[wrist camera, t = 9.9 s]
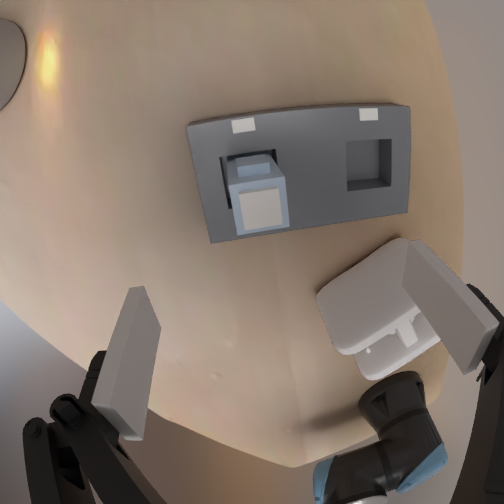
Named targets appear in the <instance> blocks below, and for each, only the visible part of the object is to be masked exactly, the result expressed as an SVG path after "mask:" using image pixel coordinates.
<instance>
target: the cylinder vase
mask: <svg viewBox="0 0 504 504" xmlns="http://www.w3.org/2000/svg"><path fill="white" fill-rule="evenodd" d="M24 63H25V41H24V37H23V34H22V32H21V30H20V29H19V27H18V26H17V25H16V24H14V23H13V22H11V21H8V20H2V19H0V110H1V109H2V108H3V107H4V106H5V105H6V103H7V102H8V101H9V100H10V98H11V97H12V95H13V93H14V92H15V90H16V88H17V86H18V83H19V81H20V78H21V75H22V72H23V68H24Z"/></svg>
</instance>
